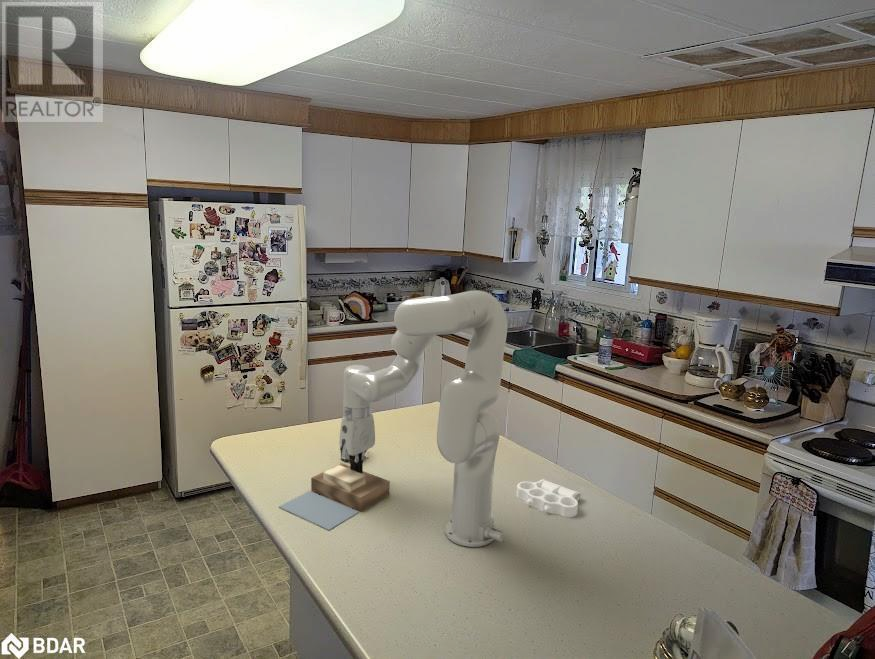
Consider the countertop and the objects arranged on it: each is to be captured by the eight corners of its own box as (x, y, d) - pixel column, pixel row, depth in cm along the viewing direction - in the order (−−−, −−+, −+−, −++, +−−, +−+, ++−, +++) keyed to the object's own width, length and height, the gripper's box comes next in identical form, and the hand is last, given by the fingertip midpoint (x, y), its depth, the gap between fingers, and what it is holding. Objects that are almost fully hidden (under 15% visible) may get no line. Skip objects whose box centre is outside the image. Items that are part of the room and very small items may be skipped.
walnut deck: (389, 494, 164) (389, 481, 163) (360, 511, 154) (360, 497, 153) (341, 475, 174) (341, 463, 173) (311, 491, 164) (311, 477, 163)
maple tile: (365, 483, 161) (365, 475, 160) (350, 491, 156) (350, 483, 156) (339, 473, 167) (339, 464, 166) (323, 480, 162) (323, 472, 161)
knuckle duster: (590, 504, 164) (565, 525, 153) (534, 483, 175) (506, 500, 164) (591, 493, 163) (566, 513, 152) (535, 472, 174) (507, 489, 163)
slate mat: (359, 512, 154) (359, 511, 154) (328, 530, 145) (328, 529, 145) (310, 491, 164) (310, 490, 164) (278, 507, 155) (278, 506, 155)
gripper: (348, 421, 153) (347, 487, 157) (385, 406, 165) (384, 467, 169) (327, 414, 157) (327, 478, 161) (365, 400, 169) (364, 460, 173)
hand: (356, 473), depth 165 cm, fingers closed
